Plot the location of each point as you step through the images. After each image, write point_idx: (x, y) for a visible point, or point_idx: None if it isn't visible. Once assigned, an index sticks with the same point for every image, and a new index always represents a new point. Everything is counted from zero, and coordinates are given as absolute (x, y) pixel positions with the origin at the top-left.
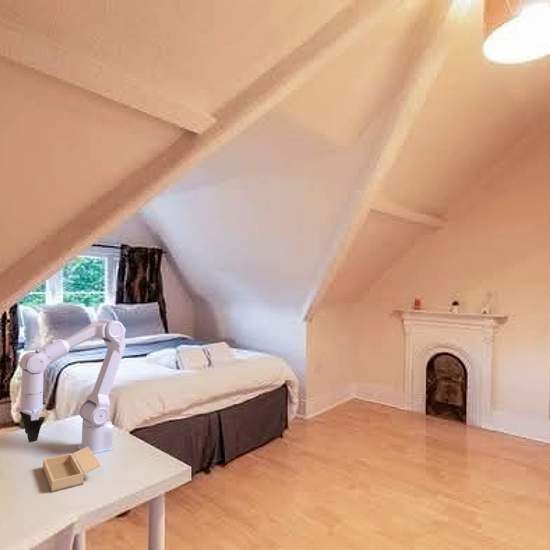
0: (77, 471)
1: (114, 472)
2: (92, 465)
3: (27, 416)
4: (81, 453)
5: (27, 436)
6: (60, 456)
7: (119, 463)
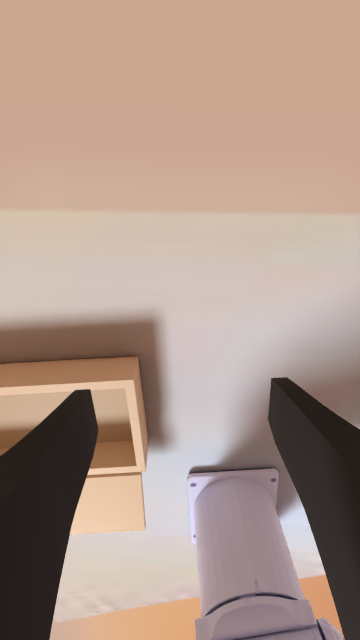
0: None
1: None
2: None
3: (345, 517)
4: (104, 501)
5: (74, 408)
6: (132, 436)
7: (80, 538)
